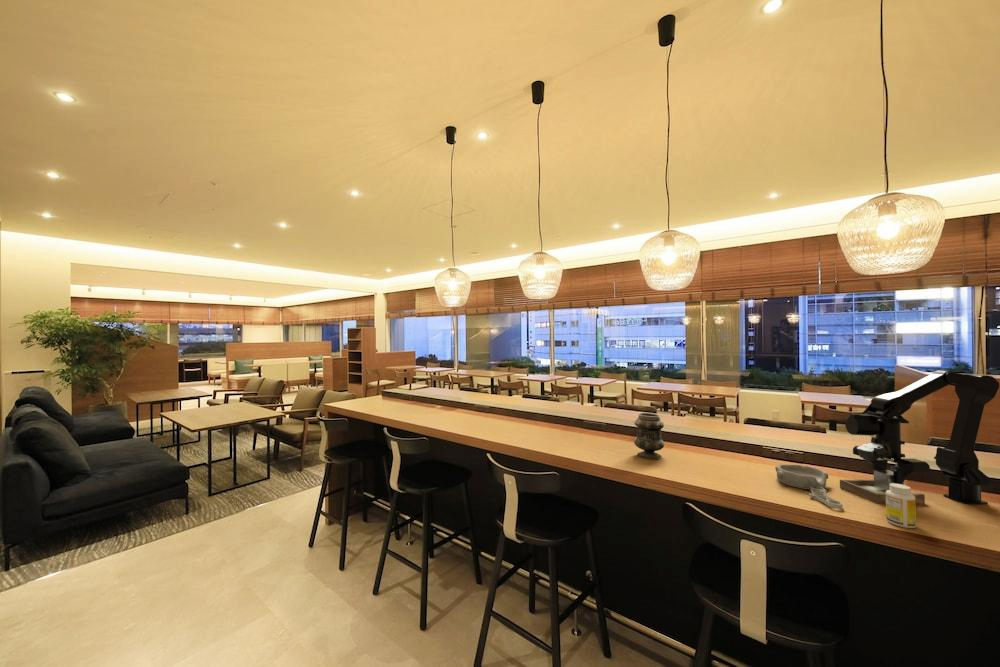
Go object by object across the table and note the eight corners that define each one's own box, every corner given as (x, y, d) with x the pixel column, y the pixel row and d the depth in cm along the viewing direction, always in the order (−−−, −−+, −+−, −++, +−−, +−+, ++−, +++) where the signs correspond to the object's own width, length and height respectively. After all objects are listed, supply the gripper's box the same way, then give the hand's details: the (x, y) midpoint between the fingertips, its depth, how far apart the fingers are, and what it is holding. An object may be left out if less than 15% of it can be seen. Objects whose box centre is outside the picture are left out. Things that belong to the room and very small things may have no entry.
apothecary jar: (669, 457, 160) (669, 414, 161) (654, 462, 153) (654, 418, 153) (644, 450, 170) (644, 410, 170) (628, 455, 162) (628, 413, 163)
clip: (889, 485, 123) (888, 470, 123) (904, 490, 118) (903, 474, 118) (874, 485, 123) (873, 470, 123) (888, 490, 118) (888, 475, 118)
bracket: (837, 489, 121) (843, 504, 109) (837, 495, 120) (843, 511, 109) (807, 484, 125) (809, 497, 113) (807, 489, 125) (809, 504, 113)
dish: (829, 484, 130) (828, 469, 130) (825, 495, 120) (825, 479, 120) (777, 473, 140) (777, 460, 140) (770, 483, 130) (770, 468, 130)
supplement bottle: (912, 523, 102) (912, 485, 102) (919, 531, 97) (918, 491, 97) (883, 517, 105) (883, 480, 105) (888, 525, 100) (888, 486, 101)
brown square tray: (882, 487, 127) (881, 479, 127) (924, 503, 114) (924, 494, 114) (839, 487, 126) (839, 479, 127) (878, 503, 114) (877, 494, 114)
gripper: (836, 429, 130) (837, 474, 130) (894, 443, 111) (895, 496, 111) (868, 429, 130) (869, 474, 130) (931, 443, 112) (932, 496, 111)
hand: (888, 484), depth 120 cm, fingers closed on clip, 4 cm apart
